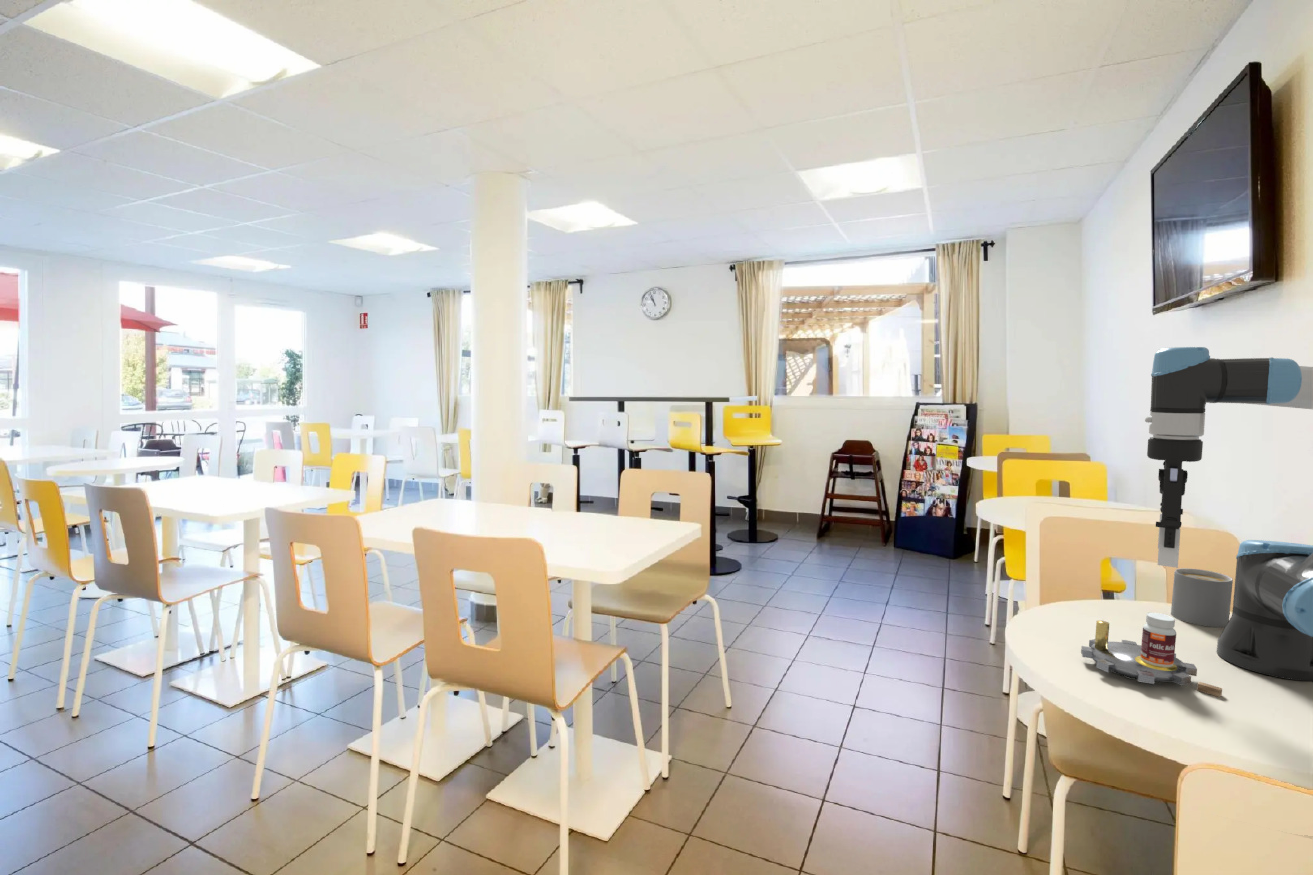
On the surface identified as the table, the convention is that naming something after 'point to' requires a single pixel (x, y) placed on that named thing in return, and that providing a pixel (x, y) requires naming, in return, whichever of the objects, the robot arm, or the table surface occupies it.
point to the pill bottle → (1158, 640)
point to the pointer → (1209, 689)
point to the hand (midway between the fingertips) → (1167, 557)
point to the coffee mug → (1201, 597)
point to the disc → (1132, 660)
